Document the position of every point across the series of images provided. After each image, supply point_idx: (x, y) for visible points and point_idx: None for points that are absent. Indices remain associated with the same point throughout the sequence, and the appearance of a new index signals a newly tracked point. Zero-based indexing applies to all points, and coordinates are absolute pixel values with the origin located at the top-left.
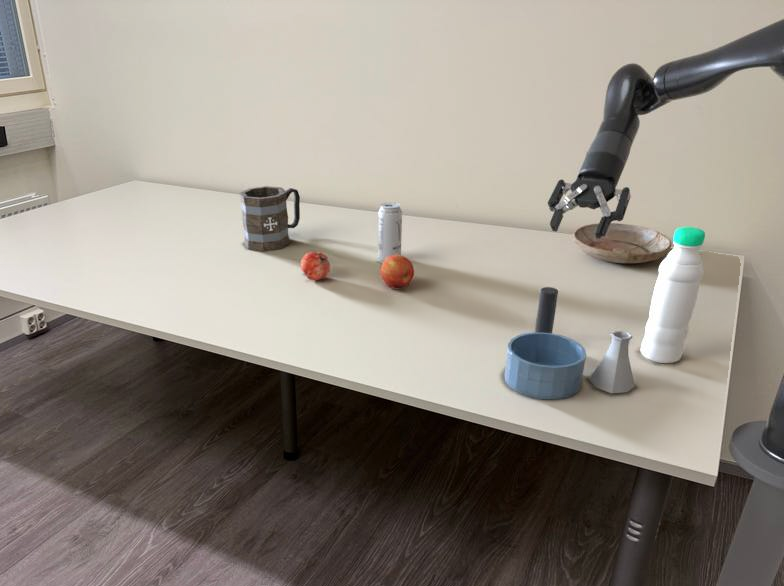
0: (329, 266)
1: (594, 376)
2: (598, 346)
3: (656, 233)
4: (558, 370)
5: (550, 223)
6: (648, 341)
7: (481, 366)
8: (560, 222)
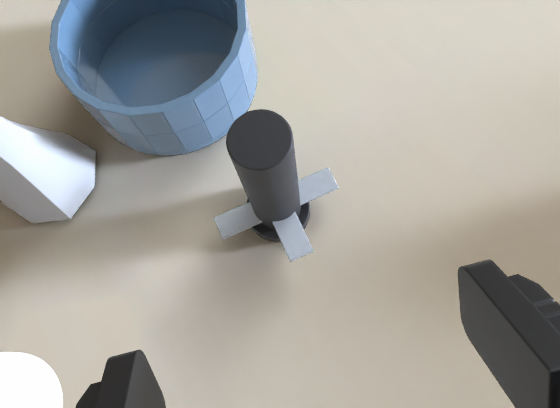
0: None
1: (74, 142)
2: (167, 327)
3: None
4: None
5: (524, 280)
6: (8, 358)
7: (307, 27)
8: (506, 391)
